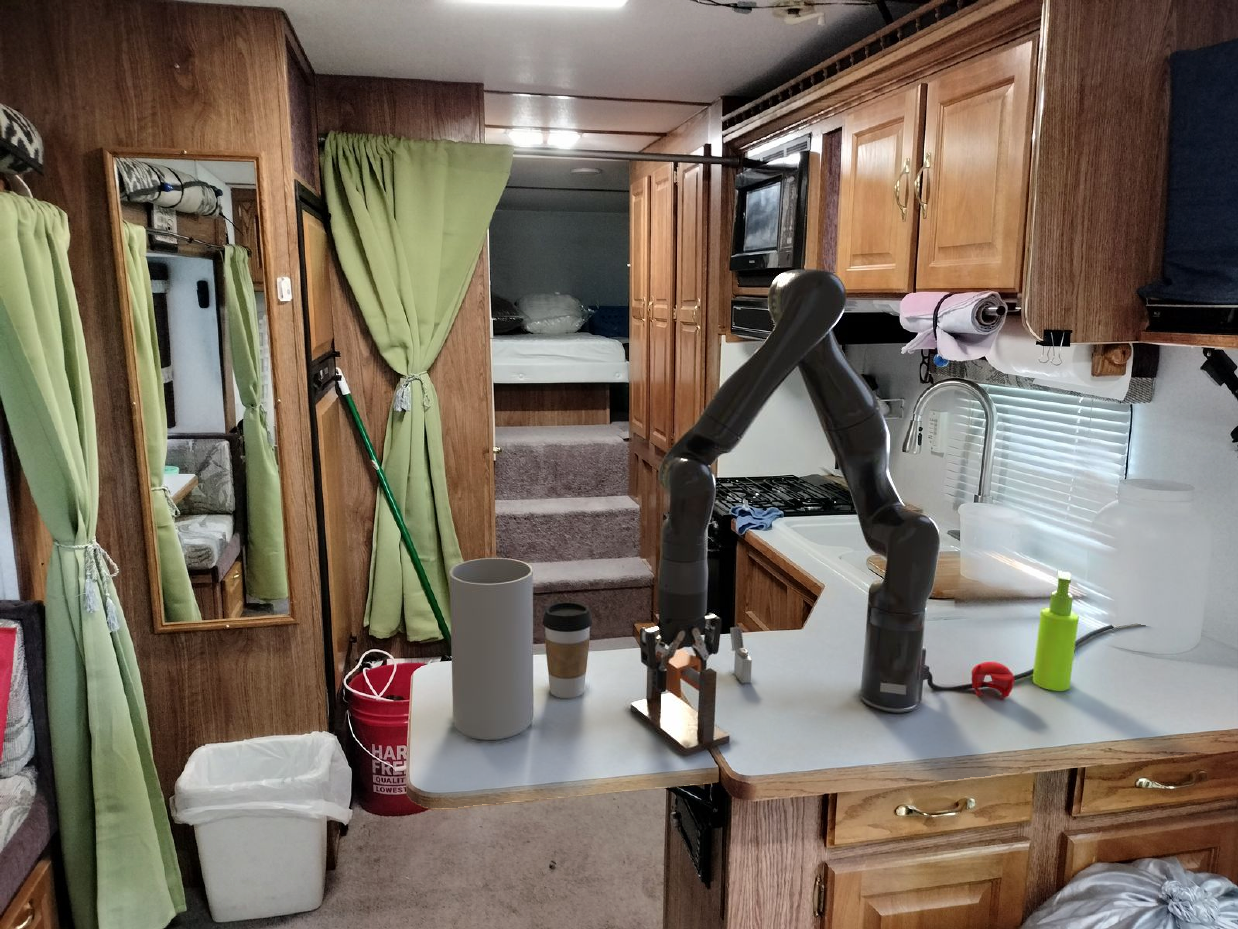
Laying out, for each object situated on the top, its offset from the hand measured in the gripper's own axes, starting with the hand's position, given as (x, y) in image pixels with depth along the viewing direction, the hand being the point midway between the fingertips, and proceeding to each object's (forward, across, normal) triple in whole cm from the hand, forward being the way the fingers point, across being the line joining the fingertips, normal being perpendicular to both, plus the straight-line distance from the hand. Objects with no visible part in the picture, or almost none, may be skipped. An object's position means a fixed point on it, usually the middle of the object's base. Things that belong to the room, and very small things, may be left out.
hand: (679, 685), depth 132 cm
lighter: (+7, +20, +10) cm, 23 cm away
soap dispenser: (+7, +67, -19) cm, 70 cm away
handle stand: (+7, 0, 0) cm, 7 cm away
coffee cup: (+7, -10, +19) cm, 23 cm away
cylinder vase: (+7, -25, +15) cm, 30 cm away
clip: (0, 0, 0) cm, 1 cm away
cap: (+7, +53, -17) cm, 56 cm away
